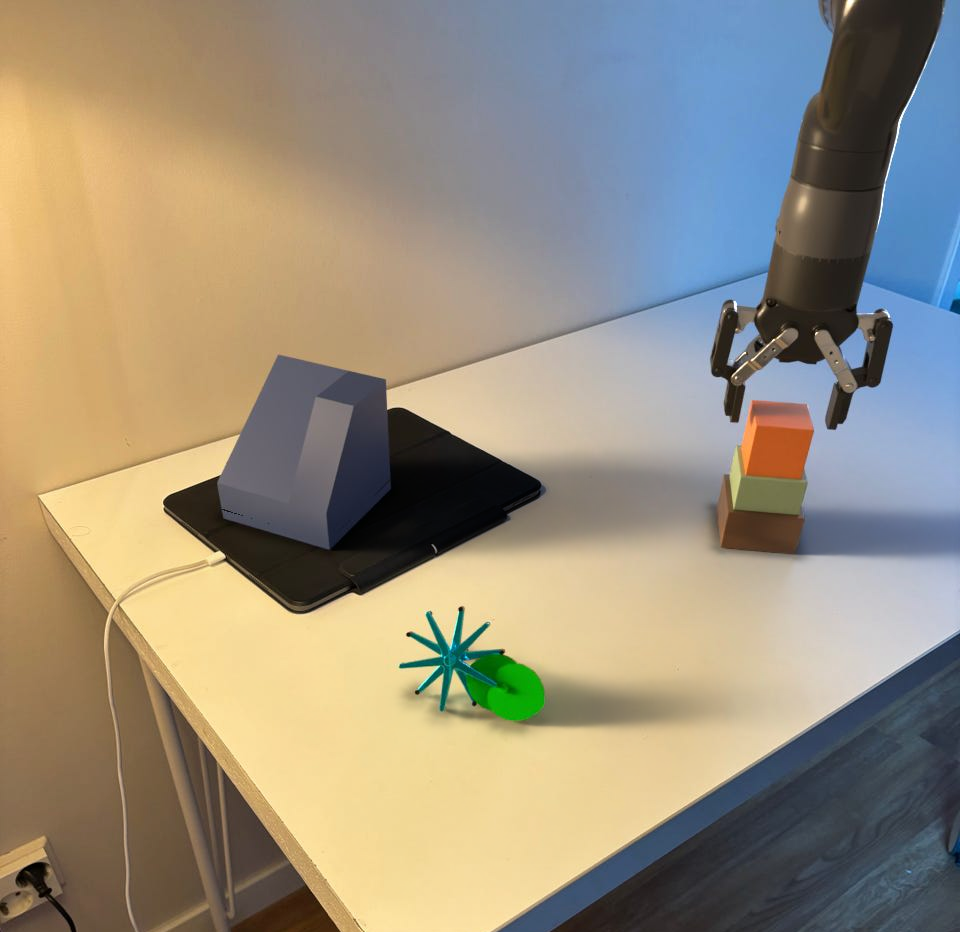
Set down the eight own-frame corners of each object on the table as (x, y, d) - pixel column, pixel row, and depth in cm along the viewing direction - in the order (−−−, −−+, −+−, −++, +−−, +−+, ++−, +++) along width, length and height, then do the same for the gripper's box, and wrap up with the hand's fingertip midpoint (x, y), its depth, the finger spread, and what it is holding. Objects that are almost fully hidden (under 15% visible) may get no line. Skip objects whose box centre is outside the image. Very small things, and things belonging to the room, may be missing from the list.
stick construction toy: (379, 680, 75) (424, 590, 74) (400, 669, 82) (441, 586, 81) (517, 755, 74) (565, 665, 73) (527, 737, 81) (571, 654, 80)
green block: (791, 481, 96) (800, 449, 93) (799, 515, 91) (808, 482, 89) (729, 476, 96) (736, 444, 94) (733, 510, 92) (740, 477, 89)
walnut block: (787, 514, 98) (796, 479, 96) (795, 554, 93) (805, 519, 91) (716, 508, 99) (723, 473, 96) (720, 547, 94) (728, 512, 91)
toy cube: (794, 452, 93) (807, 403, 90) (801, 479, 89) (814, 430, 86) (741, 448, 93) (751, 399, 90) (745, 475, 90) (756, 425, 86)
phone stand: (223, 518, 96) (203, 405, 88) (291, 461, 104) (278, 354, 97) (329, 549, 92) (318, 435, 85) (390, 488, 101) (385, 379, 93)
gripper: (735, 250, 76) (703, 437, 87) (926, 260, 75) (869, 449, 85) (730, 218, 82) (700, 397, 92) (907, 227, 80) (856, 408, 91)
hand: (781, 422), depth 89 cm, fingers open, 8 cm apart
